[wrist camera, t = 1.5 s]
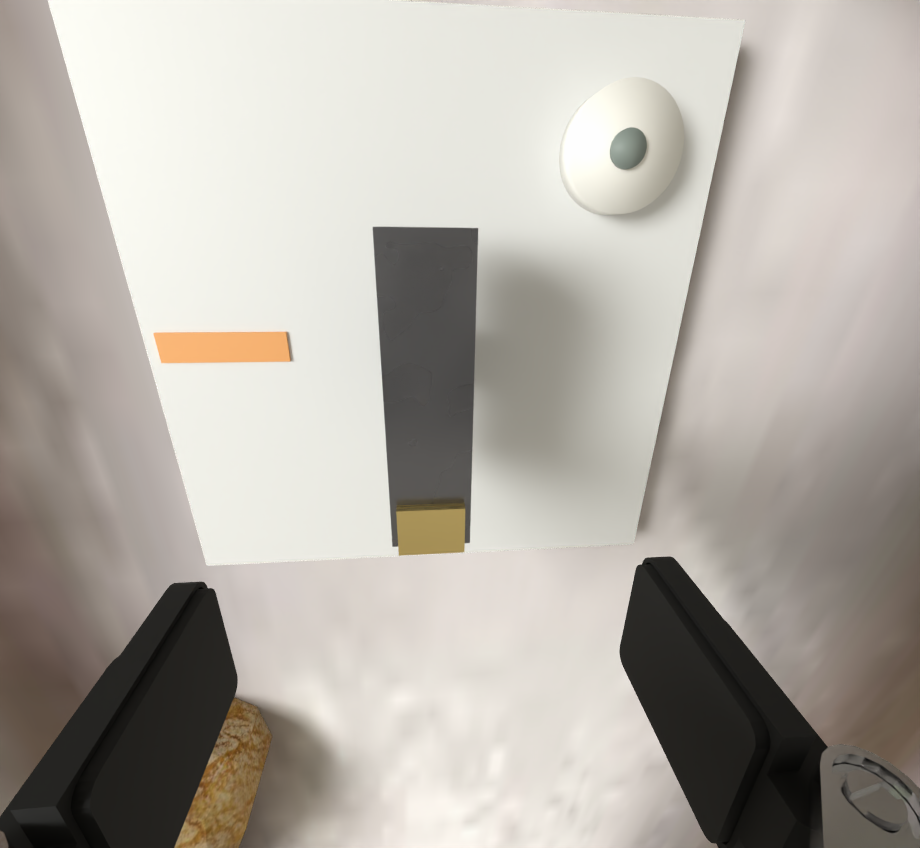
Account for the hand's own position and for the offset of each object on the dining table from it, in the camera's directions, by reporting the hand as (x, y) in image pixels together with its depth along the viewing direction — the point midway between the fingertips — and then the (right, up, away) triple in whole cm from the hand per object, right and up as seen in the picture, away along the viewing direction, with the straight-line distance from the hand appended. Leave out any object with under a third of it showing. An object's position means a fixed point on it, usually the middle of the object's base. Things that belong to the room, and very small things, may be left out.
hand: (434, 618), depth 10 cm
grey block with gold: (-1, +8, +9) cm, 11 cm away
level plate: (-1, +8, +10) cm, 13 cm away
